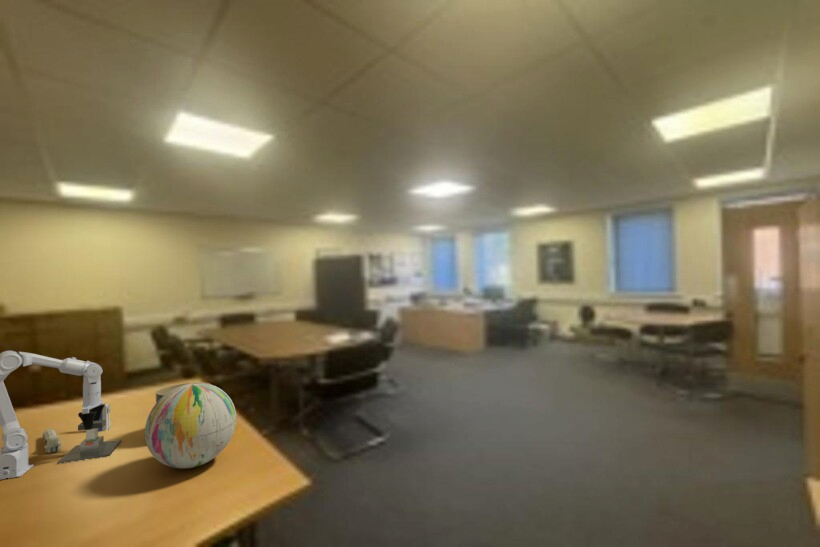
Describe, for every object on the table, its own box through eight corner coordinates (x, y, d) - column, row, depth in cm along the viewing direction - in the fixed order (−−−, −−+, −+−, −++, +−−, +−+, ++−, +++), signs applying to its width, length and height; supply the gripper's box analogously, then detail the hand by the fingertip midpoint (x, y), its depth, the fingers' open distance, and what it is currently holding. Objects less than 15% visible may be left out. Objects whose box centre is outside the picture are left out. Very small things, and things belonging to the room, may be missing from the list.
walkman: (88, 431, 184) (88, 406, 184) (92, 429, 186) (92, 404, 187) (107, 430, 185) (107, 404, 185) (110, 428, 187) (110, 403, 188)
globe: (253, 457, 153) (252, 379, 154) (174, 493, 127) (173, 399, 128) (207, 442, 168) (206, 371, 169) (128, 472, 143) (127, 388, 143)
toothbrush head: (56, 427, 180) (62, 433, 163) (56, 442, 180) (62, 449, 162) (40, 430, 177) (44, 436, 159) (40, 445, 176) (45, 454, 159)
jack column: (102, 441, 161) (102, 422, 161) (77, 445, 158) (77, 425, 158) (105, 438, 164) (105, 419, 164) (81, 441, 161) (81, 422, 161)
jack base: (109, 456, 156) (109, 443, 157) (58, 464, 150) (58, 450, 151) (121, 441, 171) (121, 429, 171) (75, 447, 165) (75, 435, 165)
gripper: (97, 396, 156) (97, 430, 156) (109, 387, 170) (109, 419, 169) (75, 398, 154) (75, 433, 153) (89, 389, 167) (89, 421, 167)
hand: (92, 426), depth 161 cm, fingers open, 7 cm apart
